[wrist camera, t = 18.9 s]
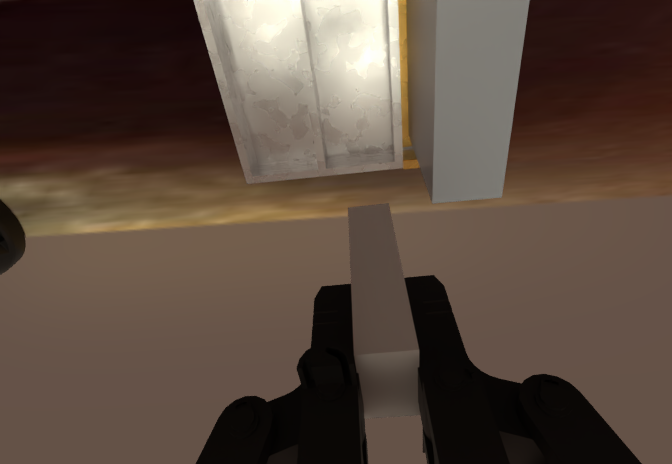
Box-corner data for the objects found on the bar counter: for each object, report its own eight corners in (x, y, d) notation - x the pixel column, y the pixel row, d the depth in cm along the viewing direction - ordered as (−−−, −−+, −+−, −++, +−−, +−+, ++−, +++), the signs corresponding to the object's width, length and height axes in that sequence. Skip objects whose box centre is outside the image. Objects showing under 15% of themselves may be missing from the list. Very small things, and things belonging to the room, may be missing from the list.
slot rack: (253, 169, 43) (246, 185, 40) (199, -28, 33) (184, -27, 30) (475, 146, 41) (485, 160, 38) (493, -75, 31) (510, -79, 28)
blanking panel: (408, 134, 40) (432, 203, 29) (406, -26, 32) (437, -20, 21) (457, 129, 40) (501, 197, 28) (467, -35, 32) (534, -34, 20)
